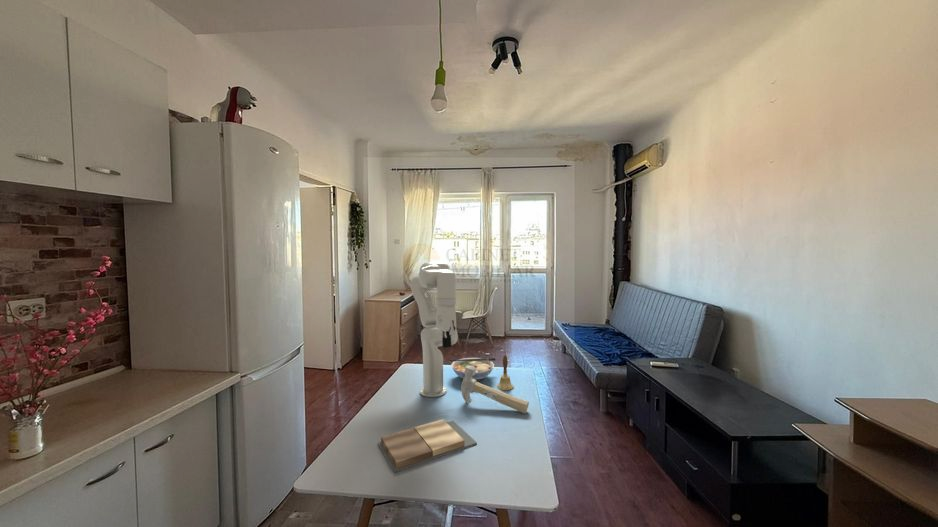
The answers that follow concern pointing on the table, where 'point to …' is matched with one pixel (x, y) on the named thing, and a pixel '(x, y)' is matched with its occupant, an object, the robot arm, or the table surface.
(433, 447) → the oak plank
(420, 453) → the floor section
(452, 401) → the table surface
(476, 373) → the ramen bowl
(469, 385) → the hammer
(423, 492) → the table surface
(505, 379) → the hand bell
